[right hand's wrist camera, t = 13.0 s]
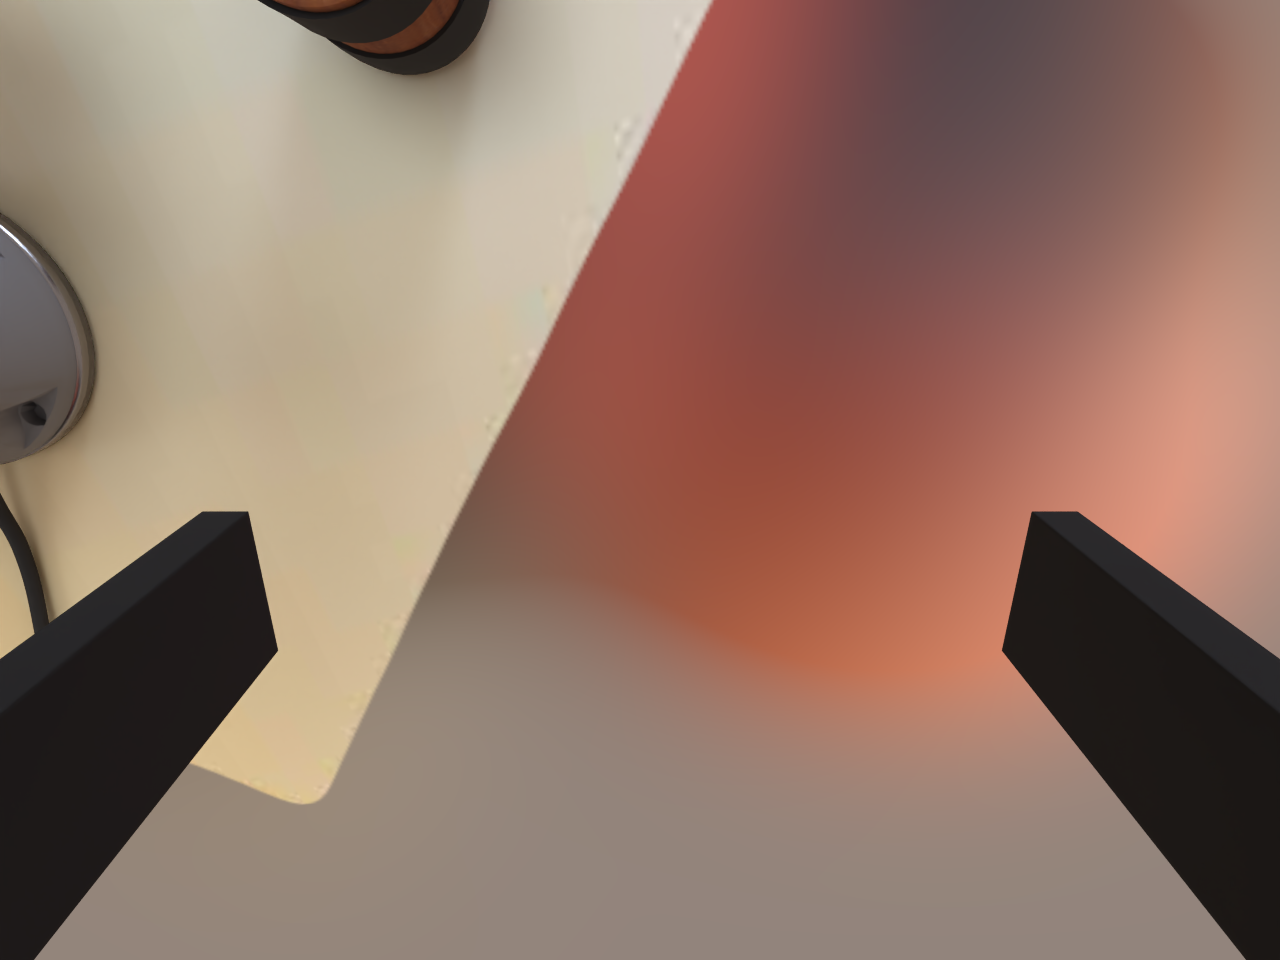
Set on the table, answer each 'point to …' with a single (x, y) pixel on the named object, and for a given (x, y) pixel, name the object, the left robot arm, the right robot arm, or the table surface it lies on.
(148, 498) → the table surface
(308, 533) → the table surface
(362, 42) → the mug
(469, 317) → the table surface
